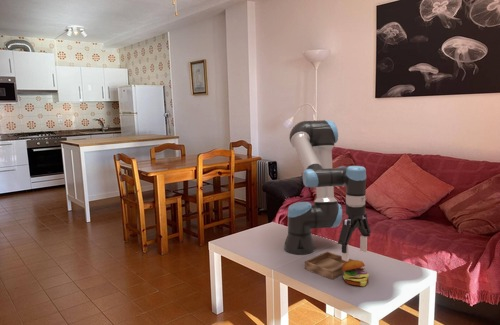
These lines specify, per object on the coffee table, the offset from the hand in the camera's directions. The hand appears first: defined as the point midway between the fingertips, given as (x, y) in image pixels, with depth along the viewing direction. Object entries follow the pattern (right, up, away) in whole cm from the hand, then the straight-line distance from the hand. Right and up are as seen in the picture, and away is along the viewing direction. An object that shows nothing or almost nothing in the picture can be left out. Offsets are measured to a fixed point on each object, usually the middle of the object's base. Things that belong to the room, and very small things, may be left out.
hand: (354, 255), depth 155 cm
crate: (-7, -9, +14) cm, 18 cm away
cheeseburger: (+1, -11, +2) cm, 11 cm away
